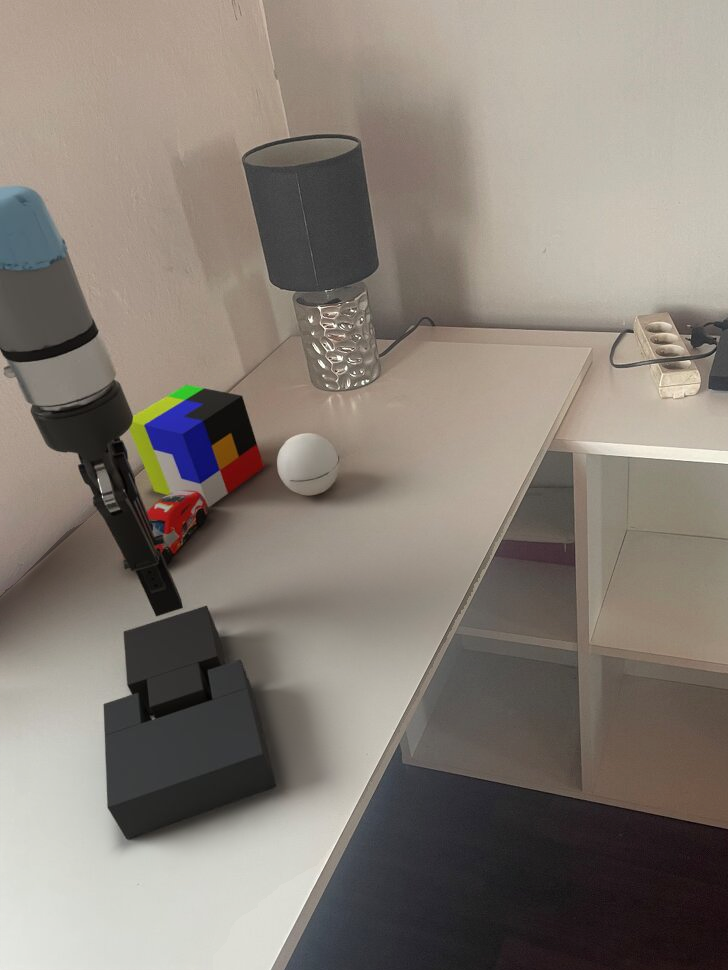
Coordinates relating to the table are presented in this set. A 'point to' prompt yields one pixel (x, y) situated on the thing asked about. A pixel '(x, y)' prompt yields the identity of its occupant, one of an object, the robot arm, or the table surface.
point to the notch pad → (184, 755)
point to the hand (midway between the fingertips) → (168, 607)
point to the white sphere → (308, 464)
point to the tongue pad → (173, 661)
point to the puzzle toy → (197, 442)
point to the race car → (176, 519)
